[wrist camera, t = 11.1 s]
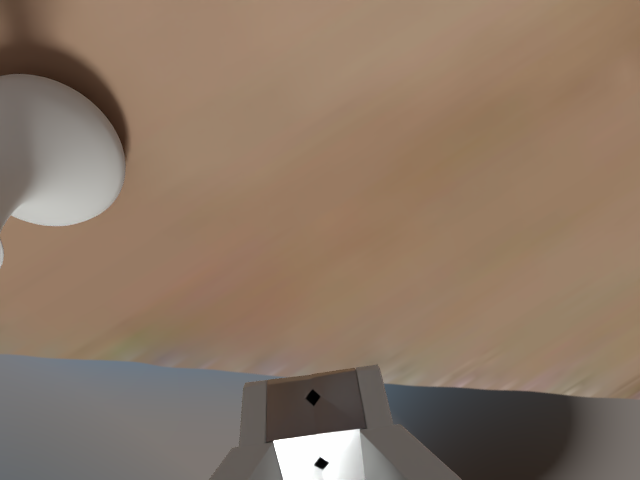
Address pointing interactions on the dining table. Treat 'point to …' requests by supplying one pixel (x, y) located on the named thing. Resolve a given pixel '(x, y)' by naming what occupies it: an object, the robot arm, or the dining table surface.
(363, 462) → the robot arm
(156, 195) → the dining table surface
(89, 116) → the flower in vase
